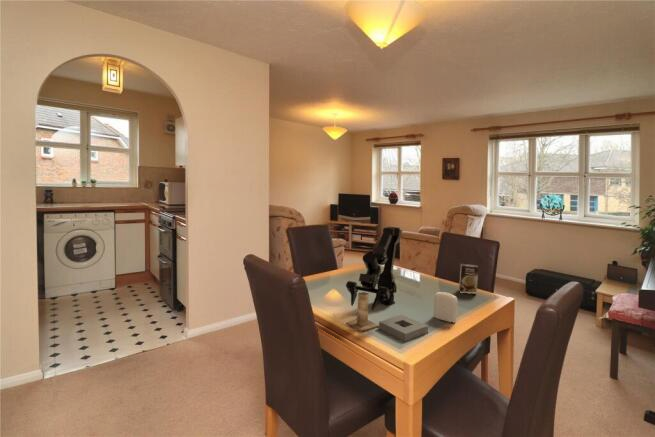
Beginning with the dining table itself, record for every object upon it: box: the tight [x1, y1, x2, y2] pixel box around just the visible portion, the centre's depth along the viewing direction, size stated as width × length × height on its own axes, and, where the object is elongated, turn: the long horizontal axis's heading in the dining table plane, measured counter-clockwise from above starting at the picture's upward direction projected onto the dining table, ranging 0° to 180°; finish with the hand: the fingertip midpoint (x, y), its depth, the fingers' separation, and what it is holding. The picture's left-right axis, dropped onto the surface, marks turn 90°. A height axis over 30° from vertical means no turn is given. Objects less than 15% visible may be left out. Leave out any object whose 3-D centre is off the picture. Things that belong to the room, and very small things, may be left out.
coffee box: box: [458, 263, 479, 293], centre depth 193 cm, size 9×6×16 cm
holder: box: [378, 314, 429, 342], centre depth 139 cm, size 14×14×3 cm
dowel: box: [356, 291, 370, 326], centre depth 142 cm, size 4×4×13 cm
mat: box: [345, 318, 379, 333], centre depth 143 cm, size 10×10×1 cm
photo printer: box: [433, 291, 458, 323], centre depth 152 cm, size 10×4×12 cm, turn 47°
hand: (361, 307), depth 141 cm, fingers open, 9 cm apart
